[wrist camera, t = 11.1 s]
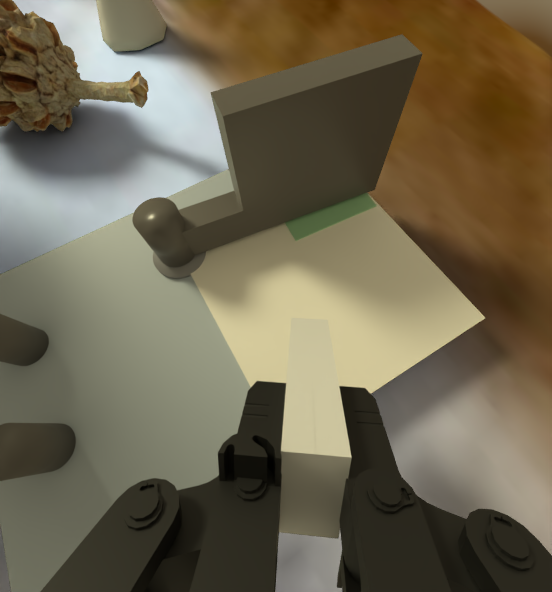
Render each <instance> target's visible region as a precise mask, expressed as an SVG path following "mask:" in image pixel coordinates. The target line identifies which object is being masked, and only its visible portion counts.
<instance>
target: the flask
mask: <svg viewBox="0 0 552 592" xmlns="http://www.w3.org/2000/svg"><path fill="white" fill-rule="evenodd" d="M96 2H97V8H98V14H99V20H100V26H101V32H102V37H103V41H104V42H105V43H106V44H107V45H108V46H109V47H110V48H111V49H112V50H113V51H114V52H116V51H131V50H141V49H144V48H146V47H148V46H150V45H152V44H154V43H157V42H159V41H161V40H163V39H164V36H165V31H166V27H167V24H166V22H165V21H164V19H163V17H162V16H161V14H160V13H159V11H158V9H157V8H156V6H155V5H154V3H153V2H152V0H96Z"/></svg>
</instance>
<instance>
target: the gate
mask: <svg viewBox="0 0 552 592" xmlns="http://www.w3.org/2000/svg"><path fill="white" fill-rule="evenodd" d="M421 56H422V53H421V52H420V51H419V50H418V49H417V48H416V47H415V46H414V45H413V44H412V43H411V42H410V41H409V40H407V39H406V38H405V37H404V36H403V35H399V36H395V37H392V38H389V39H386V40H382V41H379V42H376V43H372V44H369V45H366V46H363V47H359V48H356V49H353V50H349V51H346V52H343V53H339V54H336V55H333V56H330V57H326V58H323V59H320V60H316V61H313V62H310V63H307V64H303V65H300V66H297V67H293V68H290V69H287V70H284V71H280V72H277V73H274V74H270V75H267V76H264V77H260V78H257V79H254V80H251V81H247V82H244V83H241V84H237V85H234V86H231V87H228V88H224V89H221V90H218V91H214V92H211V96H212V100H213V105H214V109H215V113H216V117H217V121H218V125H219V130H220V134H221V138H222V142H223V146H224V150H225V155H226V159H227V163H228V167H229V171H230V175H231V180H232V184H233V188H234V191H232V192H229V193H226V194H223V195H220V196H217V197H214V198H211V199H209V200H206V201H203V202H200V203H197V204H194V205H191V206H188V207H185V208H183V209H180V210H178V208H177V206H176V205H175V203H174V202H172V201H171V200H169V199H166V198H153V199H149V200H147V201H145V202H143V203H142V204H141V205H139V206H138V208H137V209H136V210H135V212H134V214H133V218H132V221H133V225H134V227H135V228H136V230H137V231H138V232H139V234H140V235H141V236H142V237H143V239H144V240H145V241H146V242H147V244H148V245H149V246H150V248H151V249H152V250H153V251H154V253H155V254H156V255H157V257H158V258H159V259H160V260H161V262H162V263H163V264H165V265H167V266H169V267H180V266H183V265H185V264H187V263H189V262H190V261H191V260H192V259H193V257H194V256H195V255H197V254H200V253H203V252H206V251H208V250H211V249H214V248H217V247H219V246H222V245H225V244H227V243H230V242H233V241H236V240H238V239H241V238H244V237H247V236H249V235H252V234H255V233H257V232H260V231H263V230H266V229H268V228H271V227H274V226H277V225H279V224H282V223H285V222H288V221H290V220H293V219H296V218H298V217H301V216H304V215H307V214H309V213H312V212H315V211H318V210H320V209H323V208H326V207H328V206H331V205H334V204H337V203H339V202H342V201H345V200H348V199H350V198H353V197H356V196H359V195H361V194H364V193H367V192H369V191H372V190H375V187H376V184H377V181H378V178H379V176H380V173H381V170H382V167H383V164H384V161H385V158H386V156H387V153H388V150H389V147H390V144H391V141H392V139H393V136H394V133H395V130H396V127H397V124H398V122H399V119H400V116H401V113H402V110H403V107H404V104H405V102H406V99H407V96H408V93H409V90H410V87H411V85H412V82H413V79H414V76H415V73H416V70H417V67H418V65H419V62H420V59H421Z"/></svg>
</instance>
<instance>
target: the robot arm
mask: <svg viewBox="0 0 552 592" xmlns="http://www.w3.org/2000/svg"><path fill="white" fill-rule="evenodd" d="M218 467H219V475H218V476H217V477H216V478H214V479H213V480H211V481H209V482H207V483H204V484H201V485H198V486H194V487H189V488H185V489H181V490H177V489H176V487H175V485H173V484H172V483H170V482H169V481H167V480H165V479H158V478H152V479H148V480H143V481H141V482H139V483H137V484H135V485H133V486H131V487H129V488H128V489H127V490H126V491H125V492H124V493H123V494H122V495H121V496H120V497H119V498H118V499H117V500H116V501H115V502H114V503H113V505H112V506H111V507H110V508H109V509H108V511H107V512H106V513H105V514H104V515H103V517H102V518H101V519H100V520H99V521H98V523H97V524H96V525H95V526H94V528H93V529H92V530H91V531H90V532H89V534H88V535H87V536H86V537H85V538H84V540H83V541H82V542H81V543H80V544H79V546H78V547H77V548H76V549H75V550H74V552H73V553H72V554H71V555H70V557H69V558H68V559H67V560H66V561H65V563H64V564H63V565H62V566H61V567H60V569H59V570H58V571H57V572H56V573H55V575H54V576H53V577H52V578H51V579H50V581H49V582H48V583H47V584H46V586H45V587H44V588H43V589H42V590H41V592H275V586H276V570H277V552H278V536H279V532H282V533H292V534H301V535H310V536H320V537H329V538H338V537H339V531H341V540H342V555H341V560H340V566H339V572H338V580H337V587H338V588H342V591H343V592H552V556H551V554H550V553H549V552H548V551H547V550H546V548H545V547H544V546H543V545H542V544H541V543H540V541H539V540H538V539H537V538H536V537H535V536H534V535H532V534H531V533H530V532H529V531H528V530H527V529H526V528H525V527H524V526H523V525H521V524H520V523H518V522H517V521H515V520H514V519H512V518H511V517H509V516H508V515H505V514H503V513H500V512H497V511H495V510H491V509H478V510H475V511H473V512H471V513H470V514H469V516H468V518H467V519H464V518H462V517H459V516H457V515H454V514H452V513H449V512H447V511H444V510H442V509H439V508H437V507H435V506H433V505H431V504H429V503H427V502H425V501H424V500H422V499H421V498H420V497H418V496H417V495H416V494H415V492H414V491H413V489H412V487H411V486H410V485H409V484H408V483H407V482H406V481H405V480H404V479H403V478H402V477H401V475H400V473H399V471H398V467H397V464H396V461H395V458H394V455H393V452H392V449H391V446H390V443H389V440H388V437H387V434H386V431H385V428H384V427H383V421H382V418H381V415H380V412H379V409H378V406H377V403H376V400H375V398H374V397H373V396H372V395H371V394H370V393H369V392H368V390H367V389H366V388H360V387H347V386H339V382H338V376H337V371H336V365H335V359H334V353H333V348H332V342H331V336H330V330H329V325H328V320H323V319H306V318H291V329H290V342H289V355H288V367H287V380H286V383H278V382H265V381H256V382H255V384H254V385H253V386H252V387H251V388H250V389H249V390H248V393H247V397H246V401H245V406H244V408H243V412H242V416H241V420H240V424H239V428H238V432H237V434H234V435H232V436H231V437H229V438H228V439H227V440H226V441H225V442H224V443H223V444H222V446H221V448H220V449H219V451H218Z"/></svg>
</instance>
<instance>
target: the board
mask: <svg viewBox="0 0 552 592" xmlns="http://www.w3.org/2000/svg"><path fill="white" fill-rule="evenodd" d="M232 191H234V188H233V184H232V180H231V175H230V171H229V169H228V170H225V171H223V172H221V173H219V174H217V175H215V176H212V177H210V178H208V179H206V180H204V181H202V182H199V183H197V184H195V185H193V186H191V187H189V188H186V189H184V190H182V191H180V192H178V193H176V194H173V195H171V196H169V197H167V198H166V199H169V200H171V201H172V202H174V203H175V205H176V206H177V208H178V210H180V209H183V208H185V207H188V206H191V205H194V204H197V203H200V202H203V201H206V200H209V199H211V198H214V197H217V196H220V195H223V194H226V193H229V192H232ZM133 214H134V213H132V214H130V215H128V216H126V217H123V218H121V219H119V220H117V221H115V222H113V223H110V224H108V225H106V226H104V227H102V228H100V229H97V230H95V231H93V232H91V233H89V234H87V235H84V236H82V237H80V238H78V239H76V240H74V241H71V242H69V243H67V244H65V245H63V246H61V247H58V248H56V249H54V250H52V251H50V252H47V253H45V254H43V255H41V256H39V257H37V258H34V259H32V260H30V261H28V262H26V263H24V264H21V265H19V266H17V267H15V268H13V269H11V270H8V271H6V272H4V273H2V274H0V525H1V532H2V538H3V544H4V550H5V557H6V563H7V569H8V575H9V582H10V588H11V592H41V590H42V589H43V588H44V587H45V586H46V584H47V583H48V582H49V581H50V579H51V578H52V577H53V576H54V575H55V573H56V572H57V571H58V570H59V569H60V567H61V566H62V565H63V564H64V563H65V561H66V560H67V559H68V558H69V557H70V555H71V554H72V553H73V552H74V550H75V549H76V548H77V547H78V546H79V544H80V543H81V542H82V541H83V540H84V538H85V537H86V536H87V535H88V534H89V532H90V531H91V530H92V529H93V528H94V526H95V525H96V524H97V523H98V521H99V520H100V519H101V518H102V517H103V515H104V514H105V513H106V512H107V511H108V509H109V508H110V507H111V506H112V505H113V503H114V502H115V501H116V500H117V499H118V498H119V497H120V496H121V495H122V494H123V493H124V492H125V491H126V490H127V489H128V488H129V487H131V486H133V485H135V484H137V483H139V482H141V481H143V480H148V479H152V478H158V479H165V480H167V481H169V482H170V483H172V484H173V485H175V487H176V489H177V490H181V489H185V488H189V487H194V486H198V485H201V484H204V483H207V482H209V481H211V480H213V479H214V478H216V477H217V476H218V475H219V467H218V451H219V449H220V448H221V446H222V444H223V443H224V442H225V441H226V440H227V439H228V438H229V437H231V436H232V435H234V434H237V432H238V428H239V424H240V420H241V416H242V412H243V408H244V406H245V401H246V397H247V393H248V390H249V389H250V388H251V387H252V386H253V385H254V384H255V382H256V381H265V382H278V383H286V380H287V367H288V355H289V342H290V329H291V318H306V319H323V320H328V325H329V330H330V336H331V342H332V348H333V353H334V359H335V365H336V371H337V376H338V382H339V386H347V387H360V388H366V389H367V390H368V392H369V393H370V394H371V393H373V392H374V391H376V390H377V389H379V388H380V387H382V386H383V385H385V384H386V383H388V382H389V381H391V380H392V379H394V378H395V377H397V376H398V375H400V374H401V373H403V372H404V371H406V370H407V369H409V368H410V367H412V366H413V365H415V364H416V363H418V362H419V361H421V360H423V359H424V358H426V357H427V356H429V355H430V354H432V353H433V352H435V351H436V350H438V349H439V348H441V347H442V346H444V345H445V344H447V343H448V342H450V341H451V340H453V339H454V338H456V337H457V336H459V335H460V334H462V333H463V332H465V331H466V330H468V329H469V328H471V327H473V326H474V325H476V324H477V323H479V322H480V321H482V320H483V319H485V317H484V316H483V315H482V314H481V313H480V312H479V311H478V309H477V308H476V307H475V306H474V305H473V304H472V303H471V302H470V301H469V300H468V299H467V298H466V297H465V296H464V295H463V294H462V292H461V291H460V290H459V289H458V288H457V287H456V286H455V285H454V284H453V283H452V282H451V281H450V280H449V279H448V278H447V277H446V276H445V274H444V273H443V272H442V271H441V270H440V269H439V268H438V267H437V266H436V265H435V264H434V263H433V262H432V261H431V260H430V259H429V257H428V256H427V255H426V254H425V253H424V252H423V251H422V250H421V249H420V248H419V247H418V246H417V245H416V244H415V243H414V242H413V240H412V239H411V238H410V237H409V236H408V235H407V234H406V233H405V232H404V231H403V230H402V229H401V228H400V227H399V226H398V225H397V224H396V222H395V221H394V220H393V219H392V218H391V217H390V216H389V215H388V214H387V213H386V212H385V211H384V210H383V209H382V208H381V207H380V205H379V204H378V203H377V202H376V201H375V200H374V199H373V198H372V197H371V196H370V195H369V194H368V193H364V194H361V195H359V196H356V197H353V198H350V199H348V200H345V201H342V202H339V203H337V204H334V205H331V206H328V207H326V208H323V209H320V210H318V211H315V212H312V213H309V214H307V215H304V216H301V217H298V218H296V219H293V220H290V221H288V222H285V223H282V224H279V225H277V226H274V227H271V228H268V229H266V230H263V231H260V232H257V233H255V234H252V235H249V236H247V237H244V238H241V239H238V240H236V241H233V242H230V243H227V244H225V245H222V246H219V247H217V248H214V249H211V250H208V251H206V252H203V253H200V254H197V255H195V256H194V257H193V259H192V260H191V261H190V262H189V263H187V264H185V265H183V266H180V267H169V266H167V265H165V264H163V263H162V262H161V260H160V259H159V258H158V257H157V255H156V254H155V253H154V251H153V250H152V249H151V248H150V246H149V245H148V244H147V242H146V241H145V240H144V239H143V237H142V236H141V235H140V234H139V232H138V231H137V230H136V228H135V227H134V225H133V221H132V218H133Z"/></svg>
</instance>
